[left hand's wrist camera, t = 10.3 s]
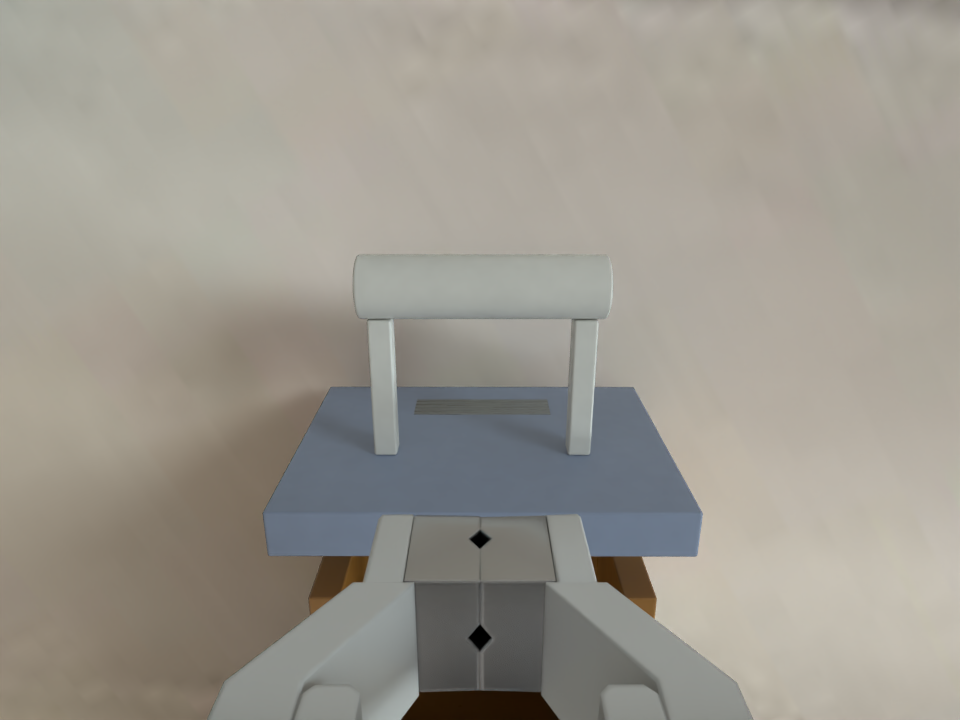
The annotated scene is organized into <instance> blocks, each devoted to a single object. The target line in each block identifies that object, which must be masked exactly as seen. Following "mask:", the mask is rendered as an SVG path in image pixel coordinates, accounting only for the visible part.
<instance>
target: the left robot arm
mask: <svg viewBox="0 0 960 720" xmlns="http://www.w3.org/2000/svg"><path fill="white" fill-rule="evenodd" d="M475 690H483V691H518V692H541V696H542V697H543V698H544V700H545V701H546V702H547V704H548V705H549V706H550V708H551V709H552V710H553V712H554V713H555V714H556V716H557V717H558V718H559V720H753V718H752V716H751V713H750V711H749V709H748V707H747V704H746V702H745V700H744V698H743V695H742V693H741V691H740V689H739V687H738V684H737V682H735V681H734V680H733V679H731V678H730V677H729V676H728V675H726V674H725V673H724V672H722V671H721V670H720V669H719V668H717V667H716V666H715V665H713V664H712V663H711V662H709V661H708V660H707V659H706V658H704V657H703V656H702V655H700V654H699V653H698V652H697V651H695V650H694V649H693V648H691V647H690V646H689V645H687V644H686V643H685V642H684V641H682V640H681V639H680V638H678V637H677V636H676V635H675V634H673V633H672V632H671V631H669V630H668V629H667V628H665V627H664V626H663V625H662V624H660V623H659V622H658V621H656V620H655V619H654V618H653V617H651V616H650V615H649V614H647V613H646V612H645V611H643V610H642V609H641V608H640V607H638V606H637V605H636V604H634V603H633V602H632V601H630V600H629V599H628V598H627V597H625V596H624V595H623V594H621V593H620V592H619V591H618V590H616V589H615V588H614V587H612V586H611V585H610V584H608V583H607V582H597V579H596V575H595V571H594V568H593V564H592V560H591V556H590V552H589V548H588V544H587V540H586V536H585V532H584V528H583V524H582V520H581V517H580V516H579V515H578V514H564V515H545V516H503V517H480V516H456V515H415V516H414V515H413V514H398V515H382V516H381V517H380V518H379V519H378V523H377V527H376V531H375V535H374V539H373V543H372V547H371V551H370V555H369V559H368V563H367V567H366V571H365V575H364V579H363V582H353V583H352V584H350V585H349V586H348V587H346V588H345V589H344V590H342V591H341V592H340V593H339V594H337V595H336V596H335V597H333V598H332V599H331V600H329V601H328V602H327V603H326V604H324V605H323V606H322V607H320V608H319V609H318V610H316V611H315V612H314V613H313V614H311V615H310V616H309V617H307V618H306V619H305V620H303V621H302V622H301V623H300V624H298V625H297V626H296V627H294V628H293V629H292V630H290V631H289V632H288V633H287V634H285V635H284V636H283V637H281V638H280V639H279V640H277V641H276V642H275V643H274V644H272V645H271V646H270V647H268V648H267V649H266V650H264V651H263V652H262V653H261V654H259V655H258V656H257V657H255V658H254V659H253V660H251V661H250V662H249V663H248V664H246V665H245V666H244V667H242V668H241V669H240V670H238V671H237V672H236V673H235V674H233V675H232V676H231V677H229V678H228V679H227V680H225V681H224V683H223V685H222V687H221V690H220V692H219V694H218V696H217V698H216V701H215V703H214V705H213V707H212V709H211V712H210V714H209V716H208V718H207V720H401V719H402V718H403V716H404V715H405V714H406V712H407V711H408V710H409V708H410V707H411V706H412V704H413V703H414V702H415V700H416V699H417V698H418V696H419V692H441V691H475Z"/></svg>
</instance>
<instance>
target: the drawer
mask: <svg viewBox="0 0 960 720" xmlns="http://www.w3.org/2000/svg"><path fill="white" fill-rule="evenodd" d="M612 297H613V271H612V264H611V260H610V258H609V256H608V255H358V256H357V257H356V259H355V263H354V268H353V300H354V307H355V311H356V314H357V316H358V317H359V318H361V319H368V321H367V334H368V351H369V368H370V384H371V387H331V388H330V389H329V391H328V393H327V395H326V397H325V399H324V401H323V402H322V404H321V406H320V408H319V410H318V412H317V413H316V415H315V417H314V419H313V421H312V423H311V425H310V426H309V428H308V430H307V432H306V434H305V436H304V438H303V439H302V441H301V443H300V445H299V447H298V449H297V450H296V452H295V454H294V456H293V458H292V460H291V462H290V463H289V465H288V467H287V469H286V471H285V473H284V475H283V476H282V478H281V480H280V482H279V484H278V486H277V487H276V489H275V491H274V493H273V495H272V497H271V499H270V500H269V502H268V504H267V506H266V508H265V510H264V512H263V520H264V528H265V535H266V543H267V551H268V555H269V556H323V558H322V561H321V564H320V567H319V570H318V572H317V575H316V578H315V581H314V584H313V587H312V590H311V592H310V595H309V598H308V600H309V609H310V615H311V614H313V613H314V612H315V611H316V610H318V609H319V608H320V607H322V606H323V605H324V604H326V603H327V602H328V601H329V600H331V599H332V598H333V597H335V596H336V595H337V594H339V593H340V592H341V591H342V590H344V589H345V588H346V587H348V586H349V585H350V584H352V583H353V582H363V579H364V575H365V571H366V567H367V563H368V559H369V555H370V551H371V547H372V543H373V539H374V535H375V531H376V527H377V523H378V519H379V518H380V517H381V516H382V515H398V514H413V515H414V516H415V515H456V516H480V517H503V516H545V515H564V514H578V515H579V516H580V517H581V520H582V524H583V528H584V532H585V536H586V540H587V544H588V548H589V552H590V556H591V560H592V564H593V568H594V571H595V575H596V579H597V582H607V583H608V584H610V585H611V586H612V587H614V588H615V589H616V590H618V591H619V592H620V593H621V594H623V595H624V596H625V597H627V598H628V599H629V600H630V601H632V602H633V603H634V604H636V605H637V606H638V607H640V608H641V609H642V610H643V611H645V612H646V613H647V614H649V615H650V616H651V617H653V618H654V619H655V610H656V601H657V598H656V595H655V593H654V590H653V587H652V584H651V581H650V579H649V576H648V573H647V570H646V567H645V565H644V562H643V559H642V556H692V557H695V556H697V553H698V546H699V539H700V531H701V524H702V516H703V513H702V511H701V509H700V508H699V506H698V504H697V502H696V500H695V498H694V497H693V495H692V493H691V491H690V489H689V488H688V486H687V484H686V482H685V480H684V478H683V477H682V475H681V473H680V471H679V469H678V468H677V466H676V464H675V462H674V460H673V458H672V457H671V455H670V453H669V451H668V449H667V448H666V446H665V444H664V442H663V440H662V438H661V437H660V435H659V433H658V431H657V429H656V427H655V426H654V424H653V422H652V420H651V418H650V417H649V415H648V413H647V411H646V409H645V407H644V406H643V404H642V402H641V400H640V398H639V397H638V395H637V393H636V391H635V389H634V388H633V387H595V372H596V356H597V341H598V325H599V322H598V320H597V319H605V318H607V317H608V315H609V313H610V310H611V305H612ZM394 319H572V324H571V344H570V364H569V384H568V387H397V382H396V361H395V339H394ZM401 720H559V718H558V717H557V716H556V714H555V713H554V712H553V710H552V709H551V708H550V706H549V705H548V704H547V702H546V701H545V700H544V698H543V697H542V696H541V692H518V691H483V690H475V691H441V692H419V696H418V698H417V699H416V700H415V702H414V703H413V704H412V706H411V707H410V708H409V710H408V711H407V712H406V714H405V715H404V716H403V718H402V719H401Z"/></svg>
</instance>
